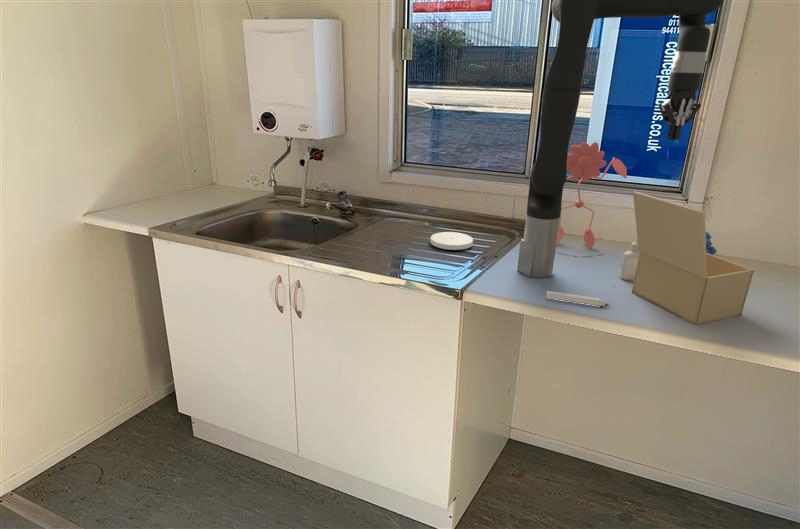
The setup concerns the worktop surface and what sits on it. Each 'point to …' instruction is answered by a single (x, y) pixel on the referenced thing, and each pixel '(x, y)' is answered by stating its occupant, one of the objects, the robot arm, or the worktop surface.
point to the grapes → (709, 245)
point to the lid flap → (671, 233)
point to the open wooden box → (694, 288)
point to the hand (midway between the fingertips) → (672, 139)
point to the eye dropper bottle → (630, 262)
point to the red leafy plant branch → (588, 176)
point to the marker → (575, 298)
